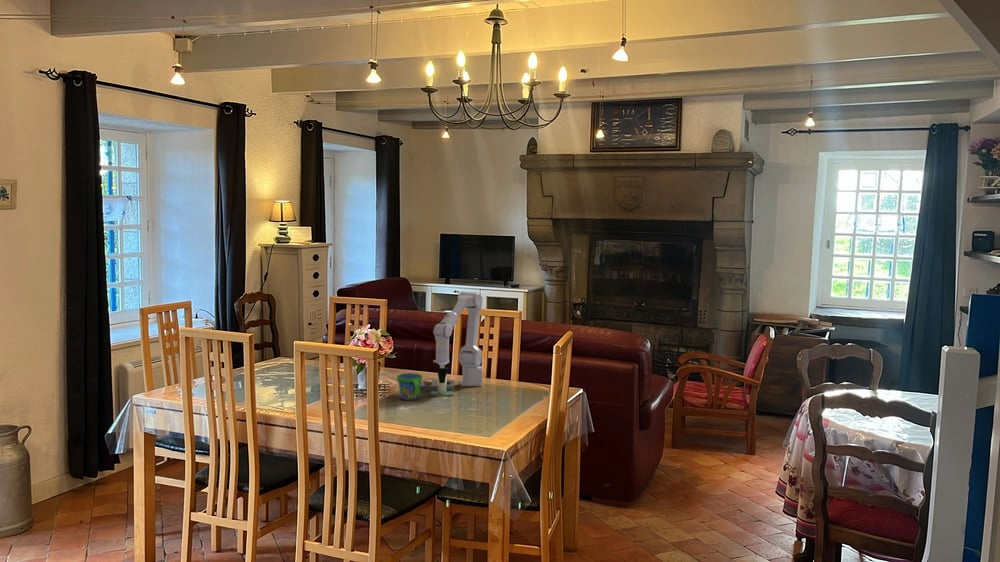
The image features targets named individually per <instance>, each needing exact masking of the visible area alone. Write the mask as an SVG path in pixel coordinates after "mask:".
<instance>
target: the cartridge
mask: <svg viewBox="0 0 1000 562" xmlns="http://www.w3.org/2000/svg"><path fill="white" fill-rule="evenodd" d="M447 375H448V373H447V374H446V379H445V383H440V382H439V376H438V375H437V380H438V388H437V393H438V394H446V388H447V380H448V379H447V378H448V377H447Z"/></svg>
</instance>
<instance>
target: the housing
mask: <svg viewBox="0 0 1000 562" xmlns="http://www.w3.org/2000/svg"><path fill="white" fill-rule="evenodd" d="M424 380H425V379H422V380H421V383H420V393H421V392H425V393H428V392H429V393H431V391H437V388H438V379H431V380H432V382H431V384H425V382H424ZM446 391H453V393H454V392H455V380H454V379H453V380H452V379H451V380H450V379H447V388H446Z"/></svg>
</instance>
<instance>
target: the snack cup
mask: <svg viewBox="0 0 1000 562" xmlns="http://www.w3.org/2000/svg"><path fill="white" fill-rule="evenodd" d="M396 378H397V381H398V388H399V396H400V399H401V400H403V401H416V400H417V399H419V396H420V394H421V384H422V380H423V376H422V375H421V374H419V373H401V374H399V375H398V374H397V376H396Z"/></svg>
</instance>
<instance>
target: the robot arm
mask: <svg viewBox="0 0 1000 562" xmlns="http://www.w3.org/2000/svg"><path fill="white" fill-rule="evenodd" d="M482 304H483V296H482V295H481V293H480V292H471V291H460V293H459V294H458V295H457V302H456V304H455V305H454V307H453V308H452V310H451V311H449V312H447V313H446V314H445V316H444V317H443V318H442V320H441V321H440V323H437V324H436V325H435V326H434V328H433V332H432V333H433V335H434V339H435V359H433V360H432V361H433V363H435V364H436V366H435V370H436V372H437V377H438V376H439V382H440V383H445V379H446V374H447V375H448V371H449V367H448V366H449V365H450V364H449V363H450V337H451V336H452V333H453V330H454V327H455V325H456V324H457V322H458V320H459V317H458V316H460V314H461V313H462V312H463V311H464V310H465V309H466V311H468V317H467V327H466V337H465V345H464V346H462V347H461V348H460V352H459V355H458V361H459V362H458V363H460V365H461V366H460V367H462V368H461V369H462V370H461V371H462V372H461V373H462V376H461V377H462V379H461V387H482V386H483V384H482V383H483V366H482V365H481V363H482V361H483V357H482V349H481V348H479V346H477V345H478V336H479V335H478V332H479V322H480V312H481V310H482V306H483V305H482Z"/></svg>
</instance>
